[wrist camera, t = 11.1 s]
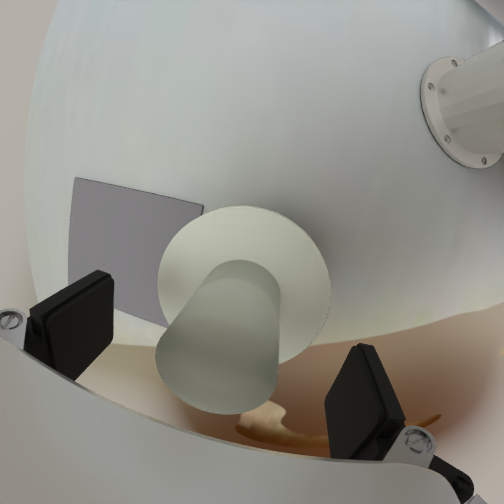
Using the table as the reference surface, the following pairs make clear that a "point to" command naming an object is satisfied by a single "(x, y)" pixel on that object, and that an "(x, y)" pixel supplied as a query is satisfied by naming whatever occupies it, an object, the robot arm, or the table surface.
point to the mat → (125, 241)
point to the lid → (237, 306)
